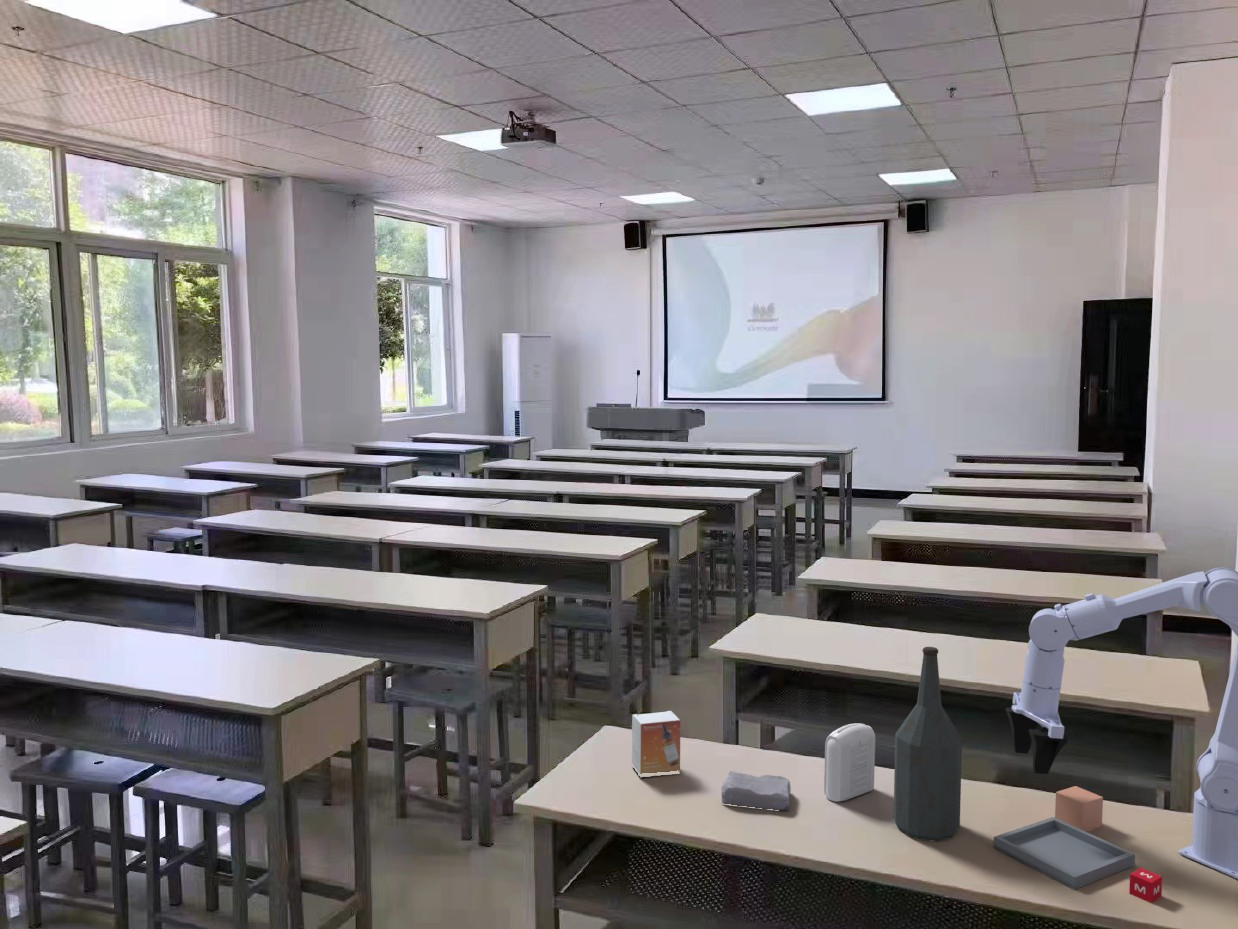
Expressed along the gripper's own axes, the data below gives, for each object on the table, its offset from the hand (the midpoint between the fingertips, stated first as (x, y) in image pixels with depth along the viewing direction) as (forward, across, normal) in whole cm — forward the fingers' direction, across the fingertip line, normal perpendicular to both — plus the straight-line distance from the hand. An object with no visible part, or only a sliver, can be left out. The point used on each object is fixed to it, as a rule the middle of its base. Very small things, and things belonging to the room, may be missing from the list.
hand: (1030, 762), depth 155 cm
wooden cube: (+10, +1, +9) cm, 13 cm away
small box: (+16, -21, -60) cm, 65 cm away
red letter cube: (+9, +23, +8) cm, 26 cm away
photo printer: (+13, -11, -26) cm, 31 cm away
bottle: (+12, +2, -17) cm, 20 cm away
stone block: (+15, -9, -42) cm, 46 cm away
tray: (+10, +12, +1) cm, 15 cm away
